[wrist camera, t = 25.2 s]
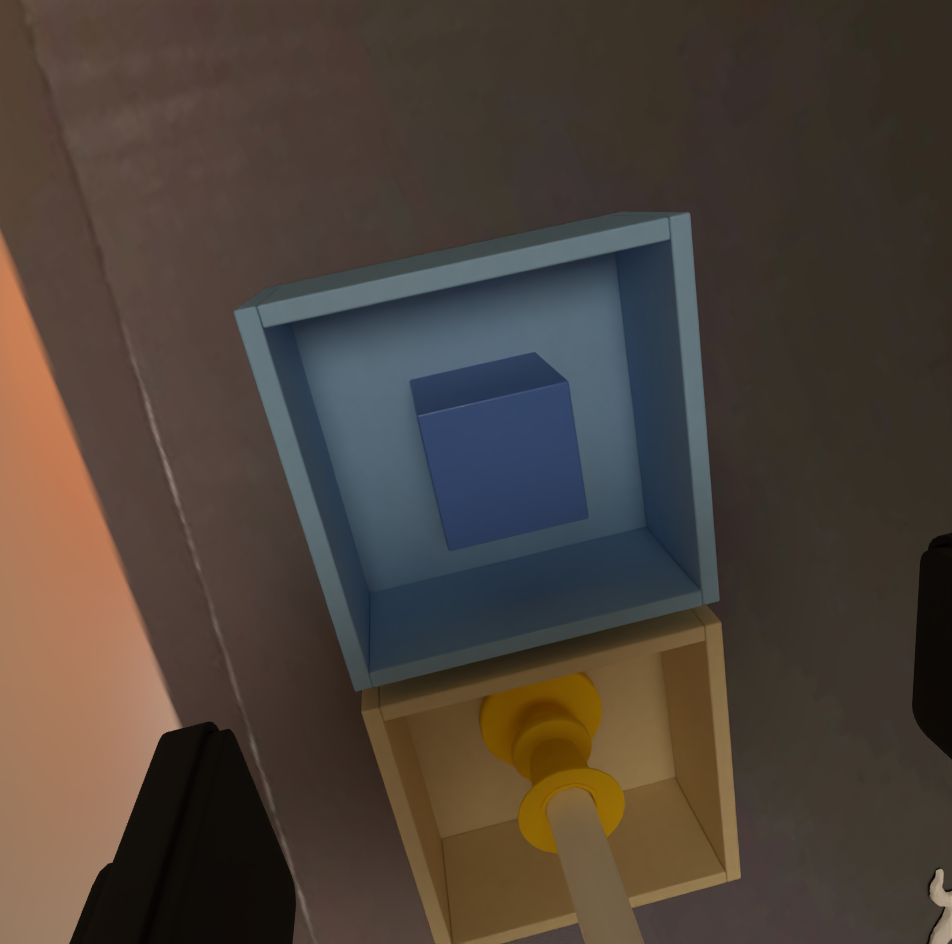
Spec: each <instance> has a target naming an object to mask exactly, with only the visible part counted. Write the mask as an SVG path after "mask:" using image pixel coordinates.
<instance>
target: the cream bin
mask: <svg viewBox="0 0 952 944" xmlns="http://www.w3.org/2000/svg"><path fill="white" fill-rule="evenodd" d="M578 672H584V673H585V674H586V675H587V676H588V677H589V679H590V680H591V681H592V682H593V684H594V686H595V688H596V690H597V692H598V694H599V696H600V699H601V705H602V716H601V721H600V726H599V728H598V730H597V732H596V734H595V735H594V737H593V739H592V740H591V742H592V751H591V755H590V758H589V760H588V762H587V764H588V766H589V768H594V769H598V770H601V771H603V772H605V773H607V774H609V775H611V776H612V777H613V778H614V779H615V780H616V781H617V782H618V783H619V785H620V787H621V789H622V791H623V793H624V799H625V809H624V813H623V817H622V819H621V820H620V822H619V824H618V826H617V827H616V828H615V830H614V831H613V832H612V833H611V834H610V835H609V836H608V837H607V841H608V843H609V846H610V849H611V852H612V855H613V857H614V860H615V863H616V866H617V869H618V871H619V874H620V877H621V880H622V883H623V885H624V888H625V891H626V894H627V896H628V899H629V902H630V905H631V908H634V907H637V906H641V905H645V904H648V903H652V902H656V901H659V900H663V899H667V898H670V897H674V896H678V895H681V894H685V893H689V892H692V891H696V890H700V889H703V888H707V887H711V886H714V885H718V884H722V883H725V882H726V880H727V881H728V882H729V881H733V880H736V879H740V878H741V874H740V861H739V848H738V835H737V822H736V809H735V795H734V782H733V769H732V756H731V743H730V730H729V717H728V704H727V691H726V677H725V664H724V651H723V638H722V625H721V621H720V620H719V619H718V618H717V617H716V615H715V614H714V613H713V612H712V611H711V610H710V608H709V607H708V606H707V605H706V604H705V605H704V604H702V606H698V607H694V608H690V609H686V610H682V611H678V612H674V613H670V614H666V615H662V616H658V617H654V618H650V619H646V620H642V621H638V622H634V623H630V624H626V625H622V626H618V627H614V628H610V629H606V630H602V631H598V632H594V633H590V634H586V635H582V636H578V637H574V638H570V639H566V640H562V641H558V642H554V643H550V644H546V645H542V646H538V647H534V648H529V649H525V650H521V651H517V652H513V653H509V654H505V655H501V656H497V657H493V658H489V659H485V660H481V661H477V662H473V663H469V664H465V665H461V666H457V667H453V668H449V669H445V670H441V671H437V672H433V673H429V674H425V675H421V676H417V677H413V678H409V679H405V680H401V681H397V682H393V683H389V684H385V685H381V686H377V687H373V686H372V688H368V689H364V690H362V710H361V713H362V716H363V719H364V722H365V726H366V729H367V732H368V735H369V738H370V741H371V744H372V747H373V751H374V754H375V757H376V760H377V763H378V766H379V769H380V772H381V776H382V779H383V782H384V785H385V788H386V791H387V794H388V797H389V801H390V804H391V807H392V810H393V813H394V816H395V819H396V822H397V826H398V829H399V832H400V835H401V838H402V841H403V844H404V847H405V851H406V854H407V857H408V860H409V863H410V866H411V869H412V872H413V876H414V879H415V882H416V885H417V888H418V891H419V894H420V898H421V901H422V904H423V907H424V910H425V913H426V916H427V919H428V923H429V926H430V929H431V932H432V935H433V938H434V941H435V944H501V943H505V942H509V941H512V940H516V939H520V938H524V937H527V936H531V935H535V934H538V933H542V932H546V931H549V930H553V929H557V928H560V927H564V926H568V925H571V924H575V923H579V922H578V919H577V915H576V912H575V908H574V905H573V902H572V898H571V895H570V891H569V888H568V885H567V881H566V878H565V874H564V871H563V867H562V864H561V861H560V857H559V854H557V853H551V852H546V851H543V850H541V849H539V848H536V847H534V846H533V845H532V844H531V843H529V842H528V841H527V840H526V839H525V837H524V836H523V834H522V832H521V831H520V828H519V822H518V812H519V806H520V804H521V802H522V800H523V798H524V796H525V794H526V793H527V792H528V791H529V790H530V789H531V788H532V783H531V781H529V780H527V779H525V778H524V777H522V776H521V775H520V774H519V773H518V772H517V770H516V768H515V766H512V765H509V764H507V763H505V762H503V761H501V760H499V759H498V758H497V757H496V756H495V755H494V754H492V753H491V752H490V751H489V750H488V748H487V746H486V744H485V743H484V741H483V739H482V734H481V729H480V724H479V714H480V706H481V704H482V702H483V700H484V697H485V696H487V695H491V694H495V693H499V692H503V691H507V690H511V689H515V688H519V687H523V686H527V685H531V684H535V683H539V682H542V681H546V680H550V679H554V678H558V677H562V676H566V675H570V674H574V673H578Z"/></svg>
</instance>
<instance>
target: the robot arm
mask: <svg viewBox="0 0 952 944" xmlns="http://www.w3.org/2000/svg"><path fill="white" fill-rule="evenodd" d="M912 709H913V714H914V717H915V720H916V722H917V724H918V725H919V727H920V728H921V730H922V731H923V732H924V734H925V735H926V736H927V737H928V738H929V739H930V740H932V741H933V742H934V743H935V744H936V745H937V746H938V747H939V748H940V749H941V750H942V751H943V752H944V753H945V754H947V755H948V756H949V757H950V758H951V759H952V533H949V534H945V535H941V536H938V537H936V538H934V539H933V540H932V541H931V543H930V544H929V547H928V551H926V552H924V553H923V555H922V556H921V561H920V575H919V593H918V611H917V628H916V646H915V664H914V682H913V700H912ZM295 911H296V896H295V887H294V882H293V878H292V875H291V873H290V870H289V868H288V865H287V863H286V860H285V858H284V855H283V853H282V850H281V848H280V846H279V843H278V841H277V838H276V836H275V833H274V831H273V828H272V826H271V823H270V821H269V818H268V816H267V813H266V811H265V809H264V806H263V804H262V801H261V799H260V796H259V794H258V791H257V789H256V786H255V784H254V781H253V779H252V776H251V774H250V772H249V769H248V767H247V764H246V762H245V759H244V757H243V754H242V752H241V749H240V747H239V744H238V742H237V740H236V737H235V735H234V733H233V732H232V731H231V730H230V729H226V730H222V731H219V729H218V728H217V726H216V725H215V724H214V723H213V722H205V723H201V724H197V725H194V726H190V727H186V728H182V729H178V730H174V731H170V732H166V733H165V734H163V735H162V737H161V738H160V740H159V742H158V745H157V747H156V750H155V753H154V755H153V758H152V760H151V763H150V766H149V768H148V771H147V774H146V776H145V779H144V781H143V784H142V787H141V790H140V792H139V795H138V798H137V800H136V802H135V805H134V808H133V811H132V813H131V816H130V818H129V821H128V823H127V826H126V829H125V831H124V834H123V837H122V839H121V842H120V844H119V847H118V850H117V853H116V855H115V858H114V860H113V863H109V864H107V865H106V866H105V867H104V868H103V869H102V870H101V871H100V872H99V874H98V876H97V878H96V880H95V882H94V884H93V886H92V888H91V891H90V893H89V896H88V898H87V901H86V903H85V906H84V908H83V911H82V913H81V916H80V918H79V921H78V924H77V926H76V929H75V931H74V933H73V936H72V938H71V941H70V943H69V944H292V943H293V932H294V921H295Z"/></svg>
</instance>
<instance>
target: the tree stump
mask: <svg viewBox="0 0 952 944" xmlns="http://www.w3.org/2000/svg"><path fill="white" fill-rule="evenodd" d="M943 875H944V872H943V870H942V869H938V870H936V876H935V879H934V880H933V881H932V883H931V885H930V895H929V896H930V898H931V899H932V900H933V901H934V902H935V903H936V904H937V905H939V906H945V910H944V913H943V916H942V918H941V919H940V920H939V922H938V924H937V925H936V927H935V928H934V930H933V932H932V934H931V937H930V942H929V944H947V943H948V942H949V940H950V939H951V938H952V891H951V892H945V891H944V890H943V888H942V884H943Z"/></svg>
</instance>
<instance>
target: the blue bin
mask: <svg viewBox="0 0 952 944" xmlns="http://www.w3.org/2000/svg"><path fill="white" fill-rule="evenodd" d="M234 316H235V319H236V322H237V325H238V328H239V331H240V334H241V338H242V341H243V344H244V347H245V350H246V353H247V356H248V359H249V363H250V366H251V369H252V372H253V375H254V378H255V381H256V384H257V388H258V391H259V394H260V397H261V400H262V403H263V406H264V409H265V413H266V416H267V419H268V422H269V425H270V428H271V431H272V434H273V438H274V441H275V444H276V447H277V450H278V453H279V456H280V459H281V463H282V466H283V469H284V472H285V475H286V478H287V481H288V485H289V488H290V491H291V494H292V497H293V500H294V503H295V506H296V510H297V513H298V516H299V519H300V522H301V525H302V528H303V531H304V535H305V538H306V541H307V544H308V547H309V550H310V553H311V556H312V560H313V563H314V566H315V569H316V572H317V575H318V578H319V581H320V585H321V588H322V591H323V594H324V597H325V600H326V603H327V606H328V610H329V613H330V616H331V619H332V622H333V625H334V628H335V631H336V635H337V638H338V641H339V644H340V647H341V650H342V653H343V657H344V660H345V663H346V666H347V669H348V672H349V675H350V678H351V682H352V685H353V688H354V690H355V691H360V690H364V689H368V688H372V686H373V687H377V686H381V685H385V684H389V683H393V682H397V681H401V680H405V679H409V678H413V677H417V676H421V675H425V674H429V673H433V672H437V671H441V670H445V669H449V668H453V667H457V666H461V665H465V664H469V663H473V662H477V661H481V660H485V659H489V658H493V657H497V656H501V655H505V654H509V653H513V652H517V651H521V650H525V649H529V648H534V647H538V646H542V645H546V644H550V643H554V642H558V641H562V640H566V639H570V638H574V637H578V636H582V635H586V634H590V633H594V632H598V631H602V630H606V629H610V628H614V627H618V626H622V625H626V624H630V623H634V622H638V621H642V620H646V619H650V618H654V617H658V616H662V615H666V614H670V613H674V612H678V611H682V610H686V609H690V608H694V607H698V606H702V604H704V605H705V604H709V603H713V602H717V601H719V600H720V599H719V586H718V573H717V559H716V546H715V533H714V520H713V507H712V494H711V481H710V468H709V455H708V441H707V428H706V415H705V402H704V389H703V376H702V363H701V350H700V337H699V323H698V310H697V297H696V284H695V271H694V258H693V245H692V232H691V219H690V213H688V212H618V213H614V214H609V215H604V216H600V217H595V218H590V219H586V220H581V221H576V222H572V223H567V224H562V225H558V226H553V227H548V228H544V229H539V230H534V231H530V232H525V233H520V234H516V235H511V236H506V237H502V238H497V239H492V240H488V241H483V242H478V243H474V244H469V245H464V246H460V247H455V248H450V249H446V250H441V251H436V252H432V253H427V254H423V255H418V256H413V257H409V258H404V259H399V260H395V261H390V262H385V263H381V264H376V265H371V266H367V267H362V268H357V269H353V270H348V271H343V272H339V273H334V274H329V275H325V276H320V277H315V278H311V279H306V280H301V281H297V282H292V283H287V284H283V285H278V286H273V287H269V288H265V289H264V290H262V291H261V292H260V293H258V294H257V295H255V296H254V297H253V298H251V299H250V300H248V301H247V302H246V303H244V304H243V305H242V306H240V307H239V308H237V309H236V310H235V311H234ZM532 352H536V353H537V354H538V355H539V356H540V357H541V358H543V359H544V360H545V361H546V362H547V363H548V364H549V365H551V366H552V367H553V368H554V369H555V370H556V371H557V372H558V373H560V374H561V375H562V376H563V377H564V378H565V379H566V380H567V381H568V382H569V388H570V395H571V401H572V408H573V415H574V421H575V428H576V435H577V442H578V448H579V455H580V462H581V468H582V475H583V482H584V488H585V495H586V502H587V508H588V515H589V516H588V518H587V519H583V520H579V521H575V522H571V523H567V524H562V525H558V526H554V527H550V528H546V529H541V530H537V531H533V532H529V533H525V534H521V535H516V536H512V537H508V538H504V539H500V540H495V541H491V542H487V543H483V544H479V545H475V546H470V547H466V548H462V549H458V550H454V551H449V550H448V548H447V544H446V539H445V535H444V531H443V527H442V523H441V518H440V514H439V510H438V506H437V501H436V497H435V493H434V489H433V485H432V480H431V476H430V472H429V468H428V463H427V459H426V455H425V451H424V447H423V442H422V438H421V434H420V430H419V425H418V421H417V417H416V412H415V407H414V402H413V397H412V392H411V387H410V380H412V379H416V378H421V377H425V376H429V375H434V374H438V373H443V372H447V371H452V370H456V369H461V368H465V367H470V366H474V365H478V364H483V363H487V362H492V361H496V360H501V359H505V358H510V357H514V356H519V355H523V354H527V353H532Z"/></svg>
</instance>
